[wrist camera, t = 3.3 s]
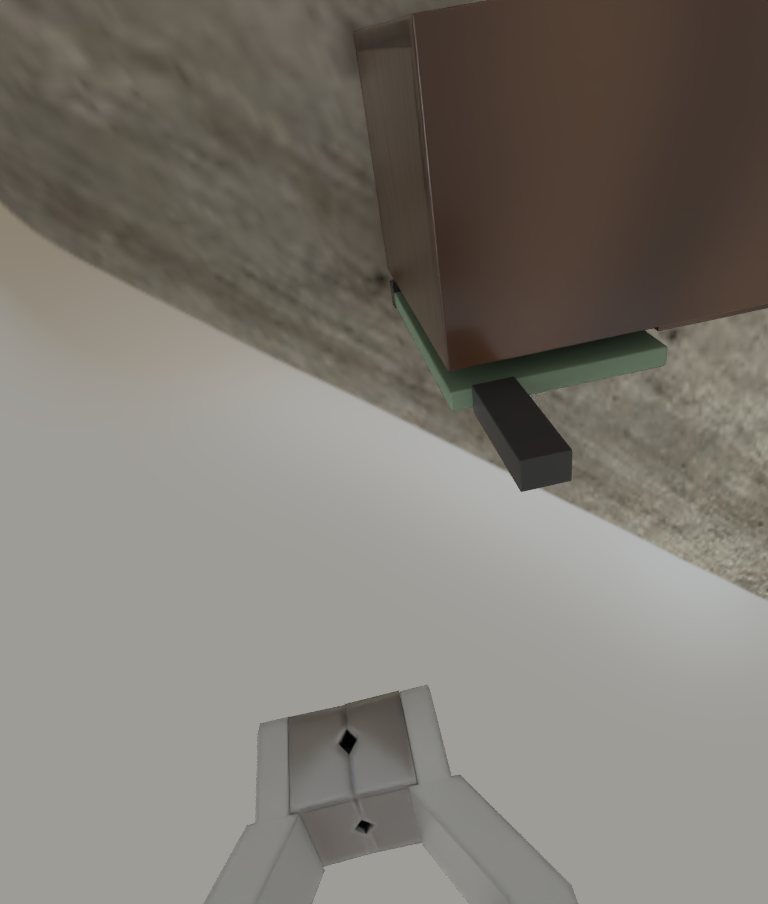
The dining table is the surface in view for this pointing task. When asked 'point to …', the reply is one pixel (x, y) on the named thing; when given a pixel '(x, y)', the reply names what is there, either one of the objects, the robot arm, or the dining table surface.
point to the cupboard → (569, 168)
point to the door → (512, 381)
